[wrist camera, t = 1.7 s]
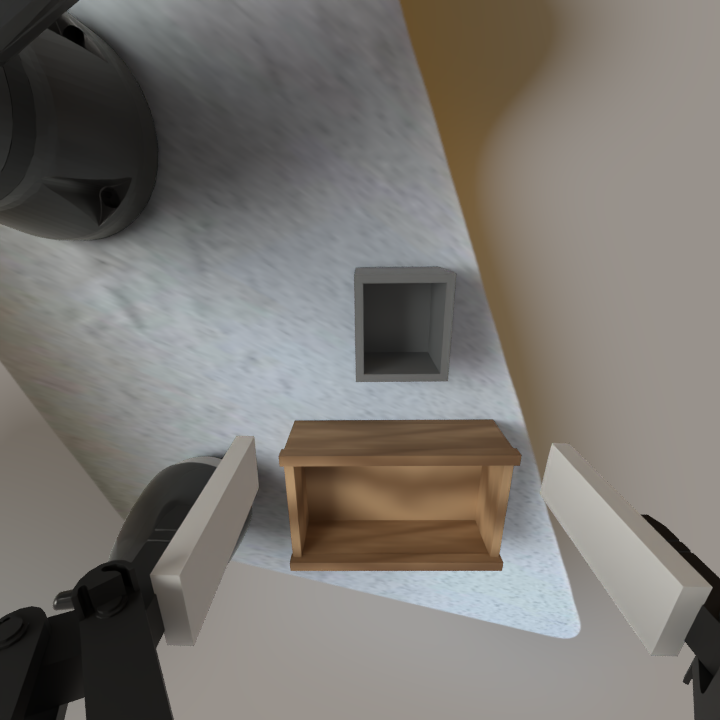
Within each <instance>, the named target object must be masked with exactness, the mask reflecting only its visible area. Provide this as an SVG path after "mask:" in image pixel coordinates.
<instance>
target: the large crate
mask: <svg viewBox="0 0 720 720" xmlns="http://www.w3.org/2000/svg"><path fill="white" fill-rule="evenodd" d="M521 456H522V455H521V454H520V453H519V451H518V450H517V448H513V447H512V446H511V445H510V443H509V442H508V440H507V439H506V438H505V436H504V435H503V433H502V432H501V431H500V429H499V428H498V426H497V425H496V424H495V422H494V421H493V420H328V421H295V422H294V424H293V427H292V430H291V432H290V435H289V438H288V440H287V443H286V446H285V448H284V449H281V452H280V454H279V464H280V467H284V471H285V481H286V490H287V500H288V510H289V520H290V530H291V540H292V550H293V554H292V556H291V560H290V569H291V571H502V567H503V561H502V559H501V556H500V554H499V553H500V546H501V540H502V534H503V528H504V522H505V516H506V510H507V504H508V497H509V491H510V485H511V479H512V473H513V467H514V466H520V461H521Z"/></svg>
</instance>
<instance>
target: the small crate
mask: <svg viewBox="0 0 720 720" xmlns="http://www.w3.org/2000/svg"><path fill="white" fill-rule="evenodd" d="M455 284H456V273H453V272H451V271H448V270H446V269H443V268H440V267H363V268H356V270H355V274H354V290H355V352H356V382H412V381H448V372H449V359H450V347H451V334H452V322H453V309H454V297H455Z"/></svg>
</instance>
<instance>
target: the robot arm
mask: <svg viewBox="0 0 720 720" xmlns="http://www.w3.org/2000/svg"><path fill="white" fill-rule="evenodd" d="M78 1H79V0H0V224H2V225H5V226H8V227H11V228H13V229H16V230H19V231H22V232H24V233H27V234H31V235H34V236H38V237H42V238H48V239H54V240H94V239H100V238H104V237H107V236H110V235H113V234H115V233H117V232H119V231H121V230H122V229H124V228H125V227H127V226H128V225H129V224H130V223H132V222H133V221H134V220H135V219H136V218H137V217H138V215H139V214H140V213H141V212H142V210H143V209H144V207H145V205H146V204H147V202H148V200H149V198H150V196H151V193H152V190H153V187H154V184H155V180H156V175H157V167H158V146H157V138H156V131H155V127H154V123H153V119H152V115H151V112H150V109H149V107H148V104H147V102H146V99H145V97H144V95H143V93H142V91H141V89H140V87H139V85H138V83H137V81H136V80H135V78H134V76H133V75H132V73H131V72H130V70H129V69H128V67H127V66H126V65H125V63H124V62H123V61H122V60H121V58H120V57H119V56H118V55H117V54H116V53H115V51H114V50H113V49H112V48H111V47H110V46H109V45H108V44H107V43H106V42H105V41H103V40H102V39H101V38H100V37H99V36H98V35H96V34H95V33H94V32H92V31H91V30H90V29H89V28H87V27H86V26H85V25H83V24H82V23H81V22H79V21H78V20H77V19H75V18H74V17H73V16H71V15H70V14H69V13H67V12H66V11H67V10H68V9H70V8H71V7H72V6H73V5H74V4H75V3H77V2H78ZM258 489H259V482H258V471H257V460H256V450H255V439H254V436H236V438H235V440H234V441H233V443H232V444H231V446H230V448H229V449H228V451H227V452H226V454H225V456H224V457H223V459H222V460H221V462H220V464H219V465H218V467H217V468H216V470H215V472H214V473H213V475H212V476H211V478H210V480H209V481H208V483H207V484H206V486H205V488H204V489H203V491H202V492H201V494H200V495H199V497H198V499H197V500H196V502H195V503H194V505H177V506H176V507H175V508H174V509H172V510H171V511H170V512H169V513H167V514H166V515H165V516H164V517H163V518H162V520H161V521H160V523H159V524H158V526H157V527H156V528H155V531H153V533H152V534H151V535H150V537H149V538H148V541H147V542H146V543H145V544H144V545H143V547H142V548H141V550H140V551H139V552H138V554H137V555H136V557H135V558H134V560H133V561H132V562H128V561H125V560H113V561H110V562H107V563H104V564H101V565H99V566H97V567H96V568H94V569H92V570H91V571H89V572H88V573H87V574H86V575H85V576H84V577H82V578H81V579H80V580H79V582H78V583H77V585H76V586H75V587H74V589H73V591H72V595H71V601H72V604H73V607H74V609H75V610H73V611H70V612H66V613H63V614H59V615H55V616H51V617H48V618H47V617H46V614H45V612H44V611H43V610H42V609H41V608H39V607H33V606H31V607H26V608H22V609H19V610H16V611H14V612H12V613H9V614H7V615H5V616H4V617H2V618H1V619H0V720H64V718H65V714H66V710H67V706H68V703H69V702H72V701H75V700H78V699H81V698H84V697H85V708H86V720H174V718H173V715H172V711H171V707H170V703H169V698H168V694H167V691H166V686H165V683H164V679H163V674H162V671H161V667H160V663H159V659H158V655H157V651H156V647H157V645H158V643H159V641H160V639H161V637H162V635H163V633H164V634H165V638H166V642H167V645H180V646H181V645H182V646H194V645H195V642H196V640H197V637H198V635H199V632H200V630H201V628H202V625H203V623H204V620H205V618H206V615H207V613H208V611H209V608H210V606H211V603H212V600H213V598H214V596H215V593H216V591H217V589H218V586H219V584H220V581H221V579H222V576H223V574H224V571H225V569H226V566H227V564H228V562H229V559H230V557H231V555H232V552H233V550H234V547H235V545H236V542H237V540H238V537H239V535H240V533H241V530H242V528H243V525H244V523H245V520H246V518H247V516H248V513H249V511H250V508H251V506H252V503H253V501H254V498H255V496H256V494H257V491H258ZM540 495H541V496H542V498H543V499H544V501H545V502H546V504H547V505H548V507H549V508H550V509H551V511H552V512H553V514H554V515H555V517H556V518H557V520H558V521H559V523H560V524H561V526H562V527H563V528H564V530H565V531H566V533H567V534H568V536H569V537H570V539H571V540H572V542H573V543H574V544H575V546H576V547H577V549H578V550H579V552H580V553H581V555H582V556H583V558H584V559H585V560H586V562H587V563H588V565H589V566H590V568H591V569H592V571H593V572H594V573H595V575H596V576H597V578H598V579H599V581H600V582H601V584H602V585H603V587H604V588H605V590H606V591H607V592H608V594H609V595H610V597H611V598H612V600H613V601H614V603H615V604H616V606H617V607H618V609H619V610H620V611H621V613H622V614H623V616H624V617H625V619H626V620H627V622H628V623H629V624H630V626H631V627H632V629H633V630H634V632H635V633H636V634H637V636H638V638H639V639H640V640H641V642H642V643H643V645H644V646H645V647H646V649H647V651H648V652H649V654H650V655H651V656H678V654H679V652H680V650H681V648H682V646H683V645H684V643H685V642H686V643H687V645H688V646H689V647H690V648H691V650H692V651H693V652H694V653H695V655H696V656H695V658H694V660H693V661H692V663H691V665H690V667H689V669H688V671H687V673H686V674H685V677H684V680H683V682H684V683H685V684H687V685H688V684H689V682H690V680H691V679H693V696H694V719H695V720H720V578H719V577H718V576H717V575H716V574H715V573H714V572H712V571H711V570H710V569H709V568H708V567H707V566H706V565H705V564H704V563H703V562H702V561H701V560H700V559H699V558H698V557H697V556H696V555H694V554H693V553H691V552H690V550H689V549H688V548H687V547H686V546H685V545H684V544H683V543H682V542H680V541H679V539H678V538H677V537H676V536H675V535H674V534H673V533H672V532H671V531H670V530H669V529H668V528H667V527H666V526H664V525H663V524H661V523H660V522H658V521H656V520H655V519H653V518H652V517H650V516H649V515H640V514H639V513H638V512H637V511H636V510H635V509H634V508H633V507H632V506H631V505H630V504H629V503H628V502H627V501H626V500H625V499H624V498H623V497H622V496H621V495H620V494H619V493H618V492H617V491H616V490H615V489H614V488H613V487H612V486H611V485H610V484H609V483H608V482H607V481H606V480H605V479H604V478H603V477H602V476H601V475H600V474H599V473H598V472H597V471H596V470H595V469H594V468H593V467H592V466H591V465H590V464H589V463H588V462H587V461H586V460H585V459H584V458H583V457H582V456H581V455H580V454H579V453H578V452H577V451H576V450H575V449H574V448H573V447H572V446H571V445H570V444H569V443H552V445H551V449H550V453H549V457H548V461H547V466H546V470H545V474H544V478H543V482H542V486H541V490H540Z"/></svg>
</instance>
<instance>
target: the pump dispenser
mask: <svg viewBox="0 0 720 720" xmlns="http://www.w3.org/2000/svg"><path fill="white" fill-rule="evenodd" d="M221 460H222V459H219V458H215V457H207V456H202V457H194V458H189V459H186V460H183V461H181V462H179V463H177V464H175V465H172V466H170V467H167V468H165V469H164V470H162V471H161V472H159V473H158V474H157V475H156V476H155V477H154V478H153V479H152V480H151V482H150V483H149V484H148V485H147V486H146V488H145V489H144V491H143V492H142V494H141V495H140V497H139V498H138V500H137V501H136V503H135V504H134V506H133V508H132V509H131V511H130V513H129V515H128V516H127V518H126V520H125V522H124V524H123V526H122V528H121V530H120V532H119V534H118V537H117V539H116V541H115V544H114V546H113V549H112V551H111V554H110V557H109V560H108V562H110V561H113V560H125V561H128V562H132V561H133V560H134V558H135V557H136V555H137V554H138V552H139V551H140V550H141V548H142V547H143V545H144V544H145V543H146V542H147V541H148V538H149V537H150V535H151V534H152V533H153V531H155V528H156V527H157V526H158V524H159V523H160V521H161V520H162V518H163V517H164V516H165V515H166V514H167V513H169V512H170V511H171V510H172V509H174V508H175V507H176V506H177V505H194V503H195V502H196V500H197V499H198V497H199V495H200V494H201V492H202V491H203V489H204V488H205V486H206V484H207V483H208V481H209V480H210V478H211V476H212V475H213V473H214V472H215V470H216V468H217V467H218V465H219V464H220V462H221ZM251 519H252V506H251V508H250V511H249V513H248V516H247V518H246V520H245V523H244V525H243V528H242V530H241V533H240V535H239V537H238V540H237V542H236V545H235V547H234V550H233V552H232V555H231V557H230V559H229V562H230V560H231V559H232V557H233V556H234V554H235V552H236V551H237V549H238V547H239V545H240V544H241V542H242V540H243V538H244V536H245V534H246V532H247V530H248V528H249V525H250V522H251ZM229 562H228V563H229ZM227 565H228V564H227ZM72 591H73V589H72V590H67V591H63V592H60V593H58V594H57V595H56V597H55V599H54V601H53V609H54V610H56V611H57V610H68V609H74V607H73V604H72V601H71V595H72Z"/></svg>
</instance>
